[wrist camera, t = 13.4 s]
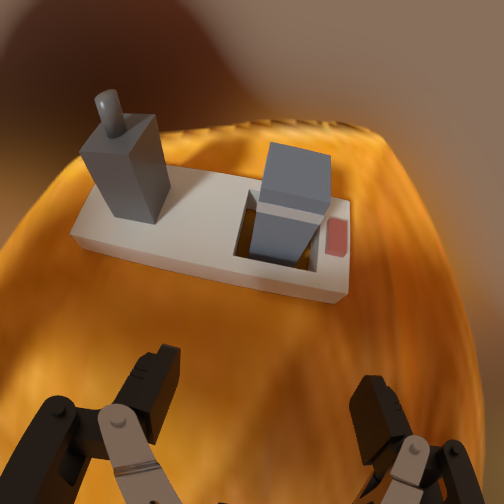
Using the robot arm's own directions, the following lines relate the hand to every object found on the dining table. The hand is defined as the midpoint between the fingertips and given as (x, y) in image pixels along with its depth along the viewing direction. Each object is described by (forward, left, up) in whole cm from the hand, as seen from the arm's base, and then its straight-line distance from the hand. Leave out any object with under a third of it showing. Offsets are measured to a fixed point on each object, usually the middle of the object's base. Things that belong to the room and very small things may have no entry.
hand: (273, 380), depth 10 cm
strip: (-6, +12, -10) cm, 17 cm away
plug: (0, +12, -10) cm, 15 cm away
